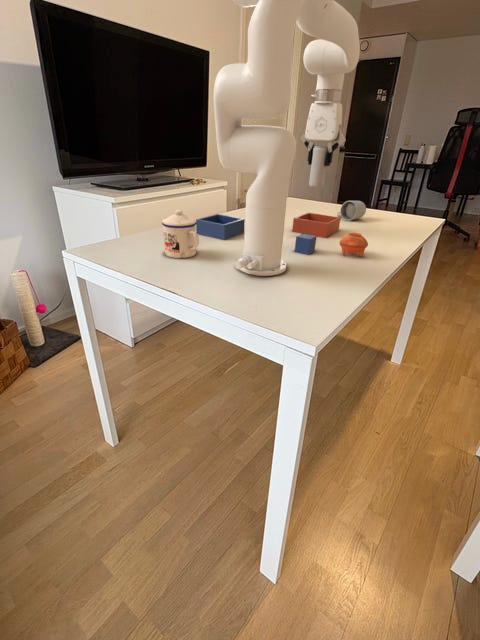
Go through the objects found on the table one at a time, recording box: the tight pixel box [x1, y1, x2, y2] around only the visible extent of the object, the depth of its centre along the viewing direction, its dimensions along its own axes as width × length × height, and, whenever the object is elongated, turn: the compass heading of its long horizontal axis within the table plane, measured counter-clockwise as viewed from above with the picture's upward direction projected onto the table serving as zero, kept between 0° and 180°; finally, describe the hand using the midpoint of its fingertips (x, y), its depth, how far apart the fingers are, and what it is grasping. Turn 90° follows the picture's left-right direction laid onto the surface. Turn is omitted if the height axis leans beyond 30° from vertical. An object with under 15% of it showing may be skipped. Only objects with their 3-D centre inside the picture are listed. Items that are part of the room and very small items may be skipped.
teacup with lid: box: [161, 209, 200, 259], centre depth 92 cm, size 12×9×12 cm
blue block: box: [294, 233, 318, 255], centre depth 100 cm, size 4×4×4 cm
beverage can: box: [308, 145, 328, 189], centre depth 111 cm, size 5×5×12 cm
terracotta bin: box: [291, 212, 342, 239], centre depth 122 cm, size 13×13×5 cm
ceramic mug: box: [337, 200, 367, 222], centre depth 141 cm, size 11×8×8 cm
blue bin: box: [195, 213, 245, 241], centre depth 115 cm, size 12×12×5 cm
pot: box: [339, 232, 369, 258], centre depth 99 cm, size 8×8×7 cm
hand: (319, 164), depth 110 cm, fingers closed on beverage can, 4 cm apart
